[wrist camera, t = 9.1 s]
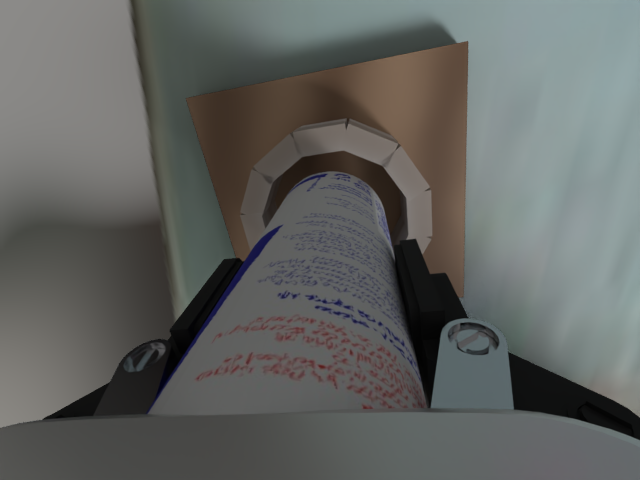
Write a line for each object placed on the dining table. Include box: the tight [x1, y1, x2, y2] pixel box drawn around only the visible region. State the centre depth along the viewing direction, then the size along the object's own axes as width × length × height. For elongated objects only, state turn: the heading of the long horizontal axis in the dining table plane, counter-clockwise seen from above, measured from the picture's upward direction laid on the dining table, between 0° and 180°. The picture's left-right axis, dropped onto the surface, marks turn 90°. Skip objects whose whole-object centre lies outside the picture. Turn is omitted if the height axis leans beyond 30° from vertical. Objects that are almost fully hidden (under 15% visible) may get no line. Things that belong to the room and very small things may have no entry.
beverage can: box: [146, 171, 427, 415], centre depth 11 cm, size 6×6×15 cm
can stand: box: [186, 41, 468, 297], centre depth 19 cm, size 15×15×4 cm
